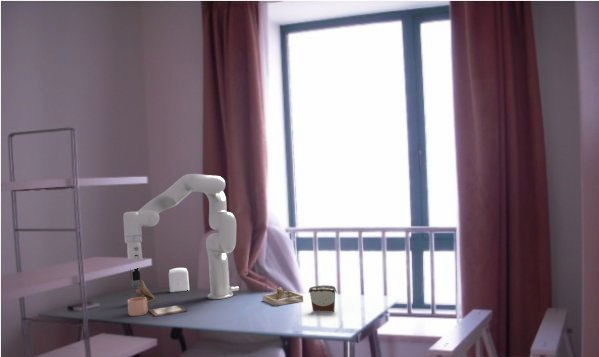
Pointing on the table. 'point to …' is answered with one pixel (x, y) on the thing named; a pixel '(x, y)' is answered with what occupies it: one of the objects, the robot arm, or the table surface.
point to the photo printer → (178, 279)
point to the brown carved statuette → (144, 292)
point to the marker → (134, 282)
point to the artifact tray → (294, 298)
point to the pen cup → (137, 306)
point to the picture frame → (167, 310)
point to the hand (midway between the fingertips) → (135, 279)
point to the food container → (323, 298)
